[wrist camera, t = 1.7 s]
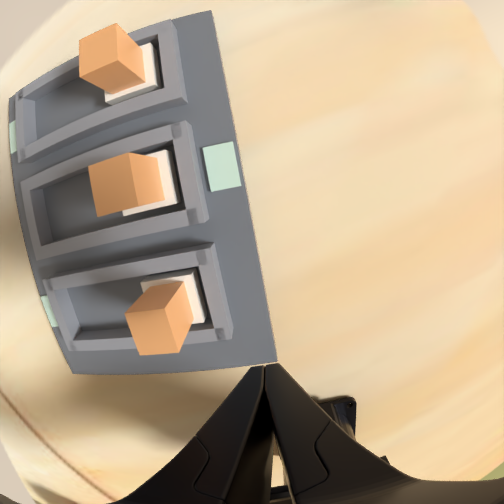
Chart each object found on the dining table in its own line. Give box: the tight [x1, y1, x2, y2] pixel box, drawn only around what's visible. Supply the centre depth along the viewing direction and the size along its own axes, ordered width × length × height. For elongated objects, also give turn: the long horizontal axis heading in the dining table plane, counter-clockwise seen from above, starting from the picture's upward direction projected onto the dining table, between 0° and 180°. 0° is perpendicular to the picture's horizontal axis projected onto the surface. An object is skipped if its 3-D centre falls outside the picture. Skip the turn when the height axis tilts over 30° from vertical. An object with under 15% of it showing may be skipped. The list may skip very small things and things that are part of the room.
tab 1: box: [79, 23, 162, 105], centre depth 12 cm, size 3×3×5 cm
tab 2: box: [88, 150, 181, 217], centre depth 13 cm, size 3×3×5 cm
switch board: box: [9, 10, 277, 375], centre depth 16 cm, size 22×16×2 cm
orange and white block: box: [124, 268, 207, 355], centre depth 14 cm, size 3×3×5 cm
